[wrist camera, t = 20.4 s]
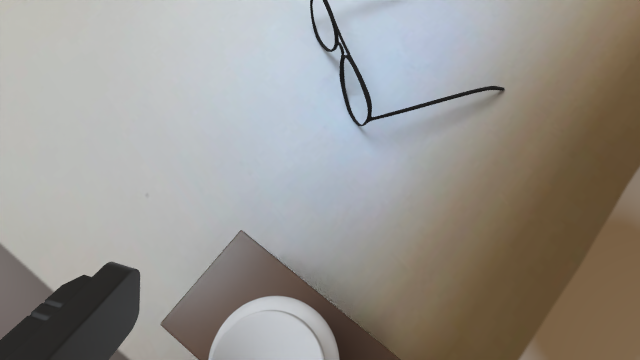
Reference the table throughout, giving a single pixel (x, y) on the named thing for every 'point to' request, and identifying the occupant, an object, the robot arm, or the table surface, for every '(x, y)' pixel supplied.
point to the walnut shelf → (252, 283)
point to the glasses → (362, 83)
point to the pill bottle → (274, 332)
